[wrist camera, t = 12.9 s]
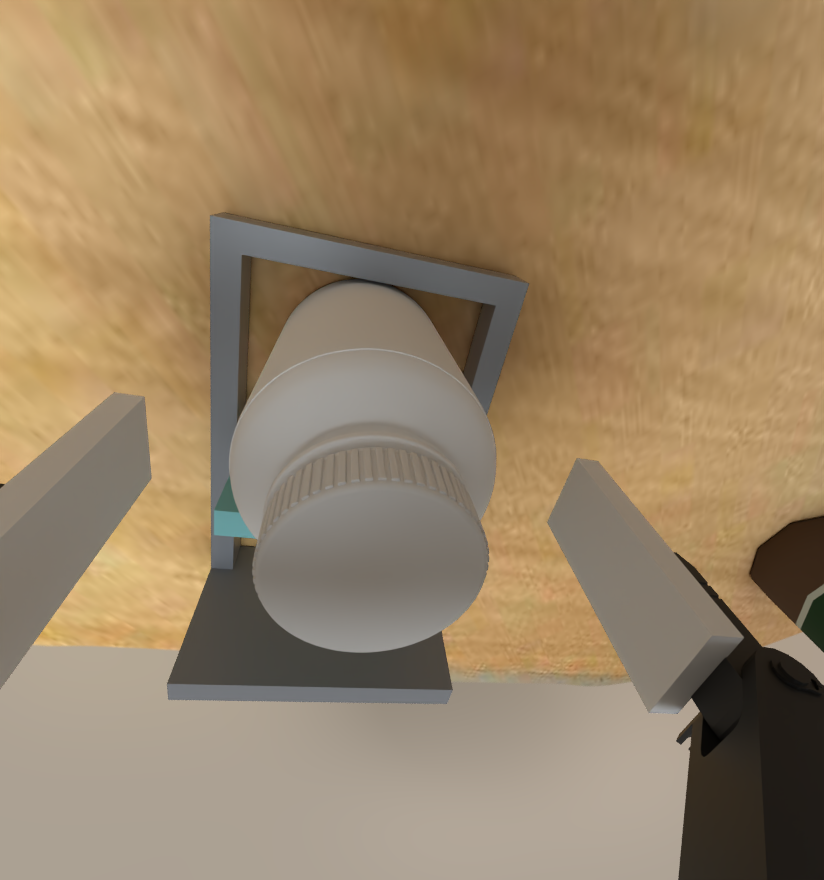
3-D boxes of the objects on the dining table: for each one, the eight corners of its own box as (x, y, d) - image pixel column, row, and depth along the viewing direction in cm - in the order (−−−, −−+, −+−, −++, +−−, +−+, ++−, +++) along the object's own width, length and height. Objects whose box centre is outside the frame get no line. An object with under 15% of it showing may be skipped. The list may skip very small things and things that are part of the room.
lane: (515, 275, 22) (604, 327, 14) (424, 573, 31) (446, 704, 23) (223, 212, 19) (130, 231, 11) (220, 558, 28) (168, 699, 21)
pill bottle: (454, 401, 25) (561, 642, 12) (315, 441, 25) (271, 719, 12) (418, 252, 21) (521, 367, 8) (254, 302, 21) (86, 493, 8)
